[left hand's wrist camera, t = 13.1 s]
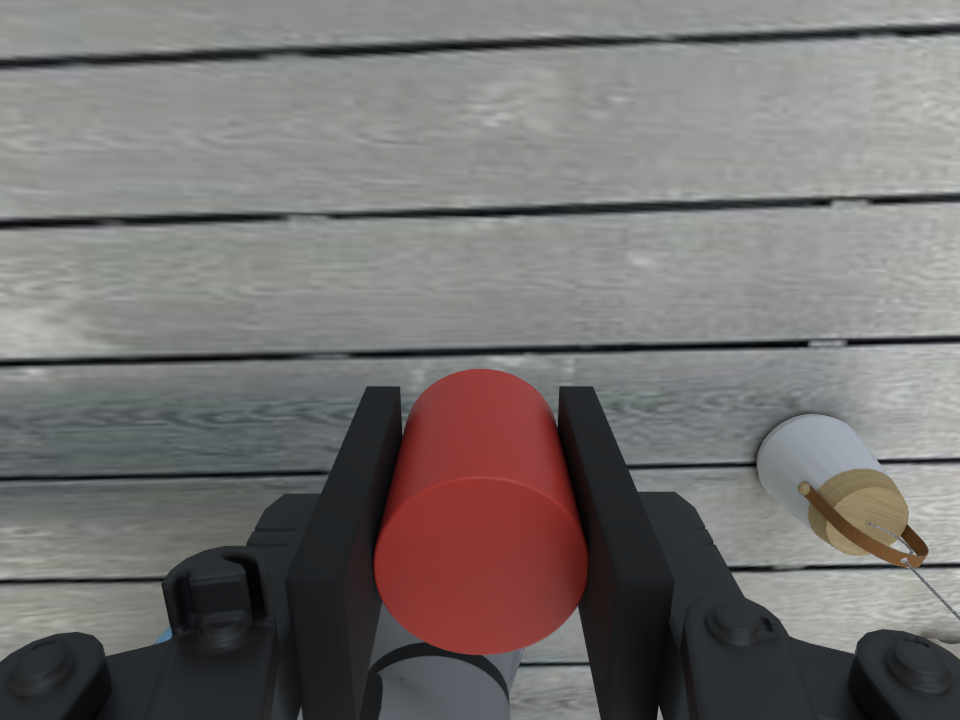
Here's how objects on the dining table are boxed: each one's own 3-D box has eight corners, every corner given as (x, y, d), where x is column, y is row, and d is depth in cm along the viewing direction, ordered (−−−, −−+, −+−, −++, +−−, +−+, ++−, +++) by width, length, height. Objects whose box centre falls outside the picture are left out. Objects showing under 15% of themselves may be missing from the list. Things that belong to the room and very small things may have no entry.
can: (463, 338, 14) (455, 435, 10) (588, 423, 15) (635, 552, 11) (375, 454, 15) (331, 591, 11) (496, 529, 16) (503, 687, 12)
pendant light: (875, 427, 51) (1358, 804, 23) (825, 511, 54) (1202, 939, 26) (782, 398, 50) (1166, 754, 22) (736, 485, 53) (1025, 899, 25)
